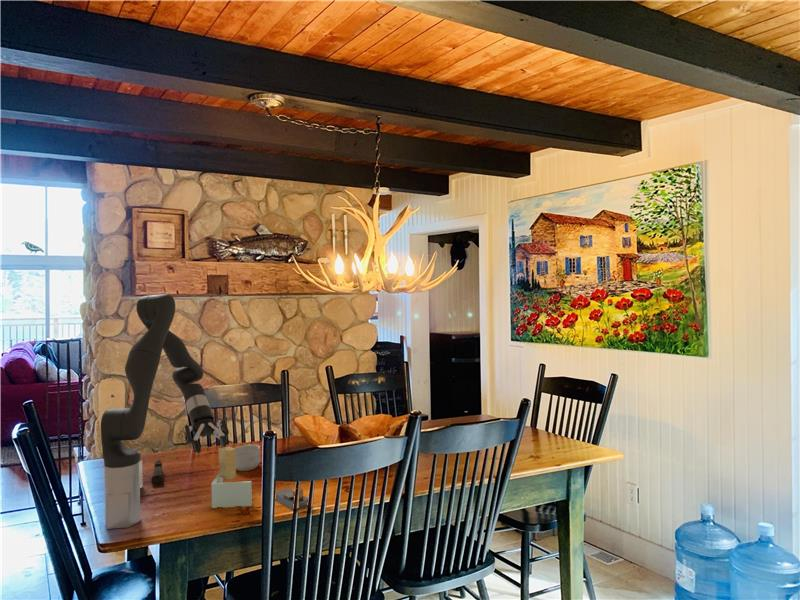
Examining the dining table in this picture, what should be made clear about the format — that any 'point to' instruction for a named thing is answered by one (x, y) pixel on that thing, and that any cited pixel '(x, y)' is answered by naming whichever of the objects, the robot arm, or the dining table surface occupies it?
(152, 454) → the dining table surface
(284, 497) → the body
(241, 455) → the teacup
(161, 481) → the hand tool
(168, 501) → the dining table surface
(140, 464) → the jar
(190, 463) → the dining table surface
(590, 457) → the dining table surface
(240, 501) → the right angle wall
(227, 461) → the lever cap
